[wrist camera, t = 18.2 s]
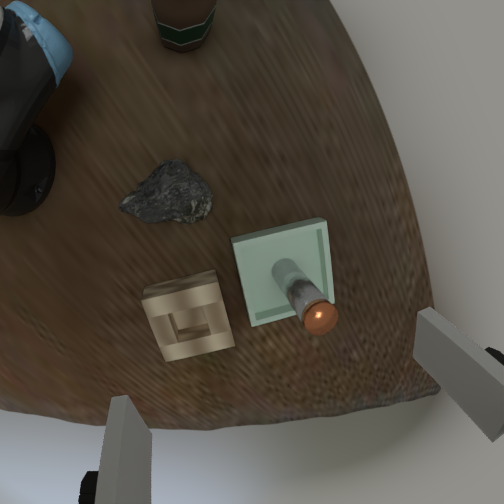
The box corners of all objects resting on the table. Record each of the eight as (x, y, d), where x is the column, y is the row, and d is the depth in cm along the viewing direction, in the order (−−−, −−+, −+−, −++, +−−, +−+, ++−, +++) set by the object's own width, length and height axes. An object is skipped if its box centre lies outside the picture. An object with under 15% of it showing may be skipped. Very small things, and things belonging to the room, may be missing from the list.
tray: (248, 318, 56) (251, 326, 53) (230, 237, 51) (232, 243, 48) (328, 295, 58) (334, 302, 55) (319, 216, 52) (326, 221, 50)
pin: (273, 285, 54) (306, 339, 39) (269, 261, 53) (303, 310, 37) (298, 279, 55) (338, 329, 39) (295, 255, 53) (337, 299, 38)
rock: (198, 137, 42) (186, 172, 35) (232, 187, 48) (228, 230, 41) (133, 175, 46) (112, 215, 39) (168, 217, 52) (155, 261, 45)
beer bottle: (220, 33, 40) (249, -48, 18) (180, 64, 41) (174, -6, 18) (188, 3, 37) (193, -89, 15) (148, 32, 38) (120, -50, 15)
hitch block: (166, 345, 55) (165, 361, 50) (144, 286, 50) (140, 300, 46) (231, 329, 56) (235, 345, 51) (215, 269, 52) (217, 281, 47)
